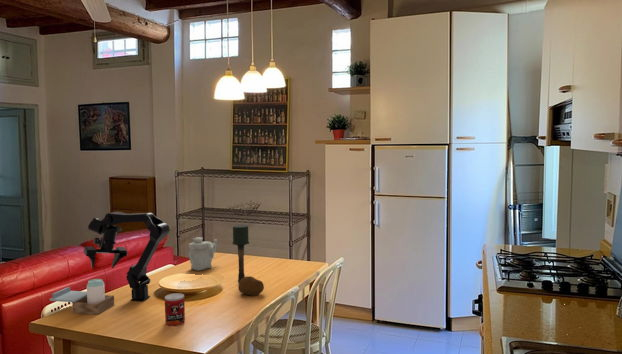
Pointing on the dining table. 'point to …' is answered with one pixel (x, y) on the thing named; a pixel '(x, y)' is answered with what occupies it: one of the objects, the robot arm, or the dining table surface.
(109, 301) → the wooden tray
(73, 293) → the lid
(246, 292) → the potato
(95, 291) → the can
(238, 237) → the stick grenade
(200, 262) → the teapot
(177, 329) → the dining table surface
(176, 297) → the canned food
